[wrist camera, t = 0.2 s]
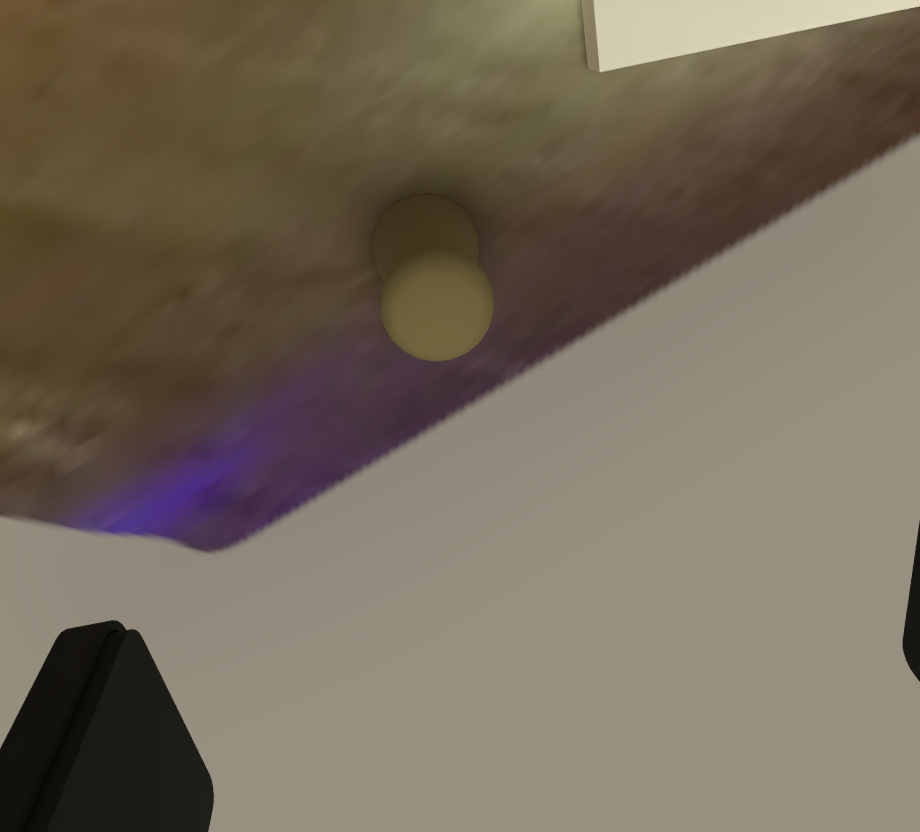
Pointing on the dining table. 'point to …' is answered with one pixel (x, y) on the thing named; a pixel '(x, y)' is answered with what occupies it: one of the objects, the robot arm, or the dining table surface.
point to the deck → (705, 24)
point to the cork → (431, 278)
